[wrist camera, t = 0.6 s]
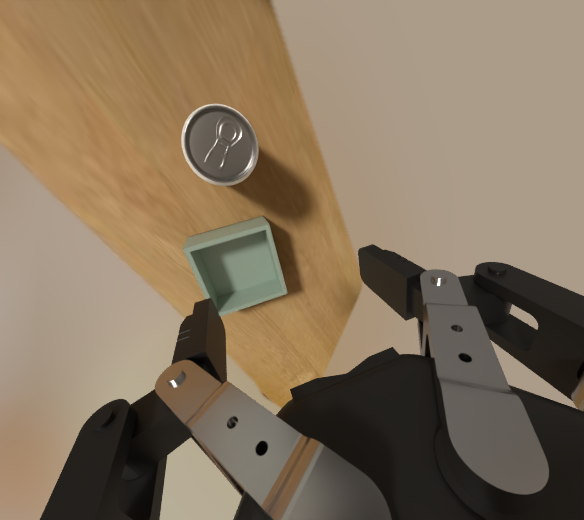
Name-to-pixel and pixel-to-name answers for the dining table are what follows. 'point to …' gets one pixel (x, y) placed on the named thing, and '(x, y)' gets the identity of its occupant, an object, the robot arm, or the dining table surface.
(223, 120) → the can
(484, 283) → the robot arm
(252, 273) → the bin
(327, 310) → the dining table surface
